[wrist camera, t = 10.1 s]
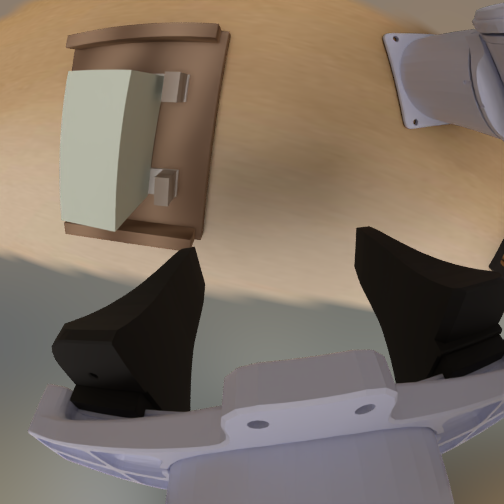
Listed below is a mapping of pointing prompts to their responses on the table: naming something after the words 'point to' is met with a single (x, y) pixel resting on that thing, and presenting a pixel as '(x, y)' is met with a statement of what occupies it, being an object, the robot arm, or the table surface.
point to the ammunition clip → (498, 260)
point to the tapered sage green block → (107, 144)
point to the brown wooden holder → (165, 122)
